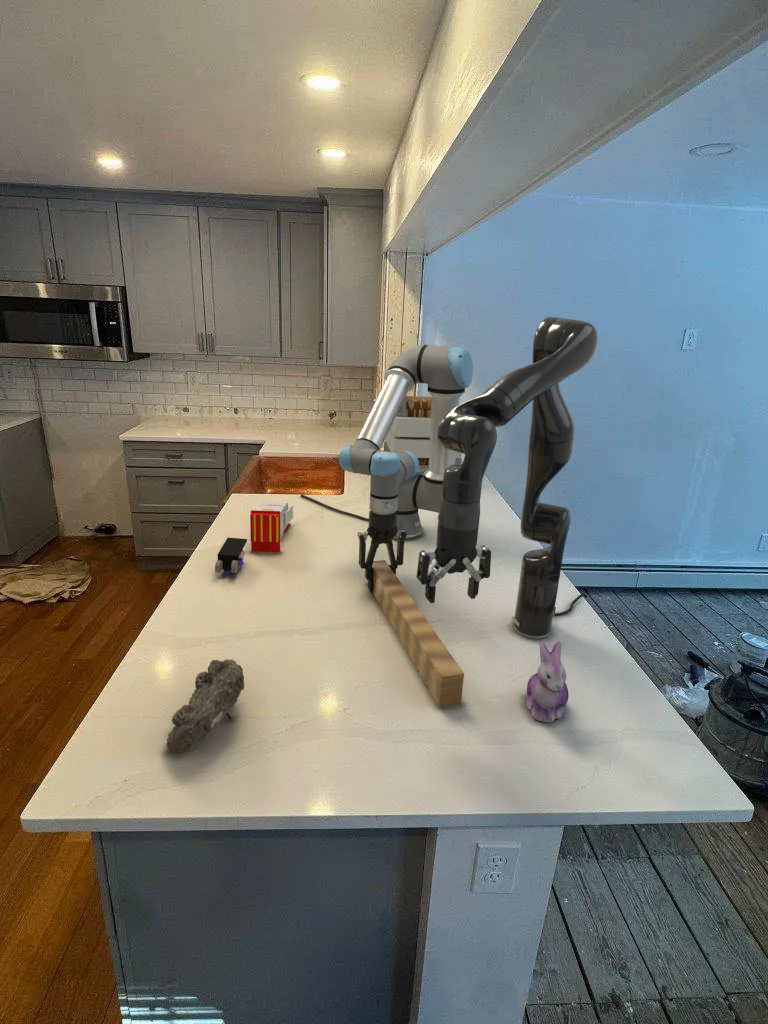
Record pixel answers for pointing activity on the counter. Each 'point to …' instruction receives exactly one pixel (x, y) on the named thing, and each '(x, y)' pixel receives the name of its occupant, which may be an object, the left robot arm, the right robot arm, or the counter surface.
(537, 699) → the figurine
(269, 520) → the toy
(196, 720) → the fossil
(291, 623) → the counter surface
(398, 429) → the transformer
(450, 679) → the beam
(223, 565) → the figurine character
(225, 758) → the counter surface
